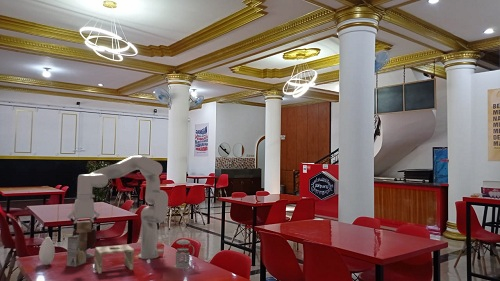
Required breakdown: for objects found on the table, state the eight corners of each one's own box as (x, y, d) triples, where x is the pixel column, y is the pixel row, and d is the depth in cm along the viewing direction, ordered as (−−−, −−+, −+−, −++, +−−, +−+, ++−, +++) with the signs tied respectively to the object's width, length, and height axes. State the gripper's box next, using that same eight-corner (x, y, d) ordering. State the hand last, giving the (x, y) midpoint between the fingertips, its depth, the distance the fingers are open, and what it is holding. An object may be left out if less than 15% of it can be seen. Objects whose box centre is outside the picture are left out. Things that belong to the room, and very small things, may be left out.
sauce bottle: (56, 264, 217) (58, 232, 218) (41, 267, 211) (43, 234, 213) (51, 262, 222) (52, 231, 224) (36, 264, 217) (38, 232, 218)
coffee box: (76, 261, 225) (78, 234, 226) (86, 262, 223) (87, 235, 224) (66, 265, 216) (67, 237, 217) (76, 266, 214) (77, 237, 215)
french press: (172, 264, 224) (173, 221, 226) (191, 263, 229) (192, 221, 230) (175, 269, 215) (177, 224, 217) (195, 267, 220) (197, 223, 221)
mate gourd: (68, 259, 230) (70, 225, 231) (73, 254, 243) (75, 222, 245) (96, 258, 234) (97, 225, 235) (99, 253, 247) (101, 222, 248)
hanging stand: (126, 263, 224) (127, 244, 224) (132, 269, 212) (133, 249, 212) (94, 267, 214) (95, 247, 215) (98, 273, 202) (99, 252, 203)
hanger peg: (88, 246, 211) (89, 220, 212) (90, 248, 205) (91, 222, 206) (74, 247, 208) (75, 221, 208) (76, 250, 202) (77, 223, 202)
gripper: (100, 195, 215) (99, 227, 215) (66, 197, 206) (64, 230, 206) (102, 197, 209) (101, 229, 208) (67, 198, 200) (66, 232, 199)
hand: (83, 229), depth 207 cm, fingers closed on hanger peg, 7 cm apart
